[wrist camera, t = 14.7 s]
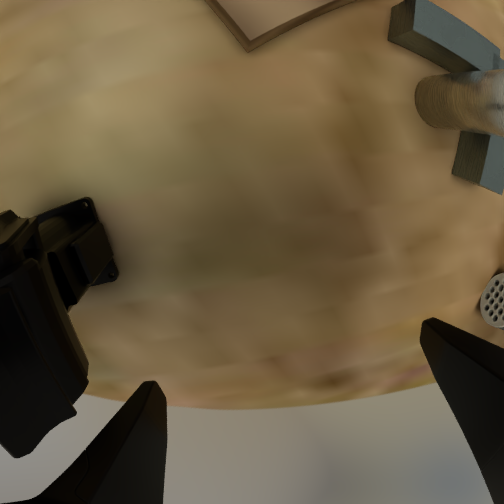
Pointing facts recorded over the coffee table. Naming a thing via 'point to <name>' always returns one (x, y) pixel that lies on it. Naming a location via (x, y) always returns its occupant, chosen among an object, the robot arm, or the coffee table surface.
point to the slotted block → (268, 17)
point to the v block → (456, 61)
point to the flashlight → (494, 302)
